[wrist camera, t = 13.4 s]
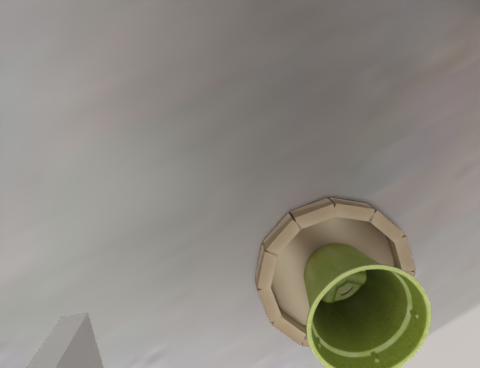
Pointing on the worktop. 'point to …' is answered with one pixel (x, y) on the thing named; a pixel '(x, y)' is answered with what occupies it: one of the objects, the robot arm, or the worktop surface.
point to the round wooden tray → (311, 239)
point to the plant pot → (363, 310)
